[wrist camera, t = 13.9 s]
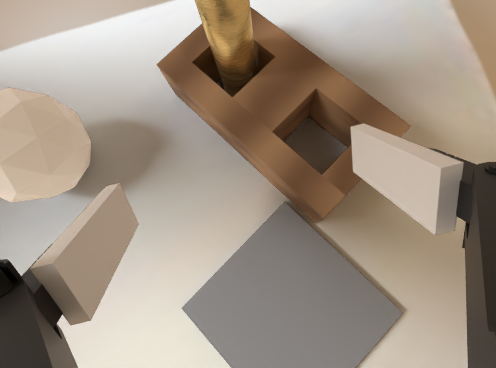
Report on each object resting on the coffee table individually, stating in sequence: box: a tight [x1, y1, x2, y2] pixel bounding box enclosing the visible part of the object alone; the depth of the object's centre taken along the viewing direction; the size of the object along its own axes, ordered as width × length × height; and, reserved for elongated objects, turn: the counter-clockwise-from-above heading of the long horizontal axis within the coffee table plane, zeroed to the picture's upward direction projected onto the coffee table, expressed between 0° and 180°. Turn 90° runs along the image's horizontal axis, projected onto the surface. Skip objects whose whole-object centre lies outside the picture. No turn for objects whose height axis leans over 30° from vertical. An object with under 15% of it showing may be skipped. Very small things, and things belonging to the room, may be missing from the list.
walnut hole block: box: [157, 7, 410, 223], centre depth 23 cm, size 18×9×4 cm, turn 45°
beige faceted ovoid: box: [0, 88, 91, 202], centre depth 22 cm, size 9×9×12 cm
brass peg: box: [195, 0, 257, 98], centre depth 20 cm, size 3×3×12 cm
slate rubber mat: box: [182, 202, 403, 368], centre depth 21 cm, size 12×12×1 cm
